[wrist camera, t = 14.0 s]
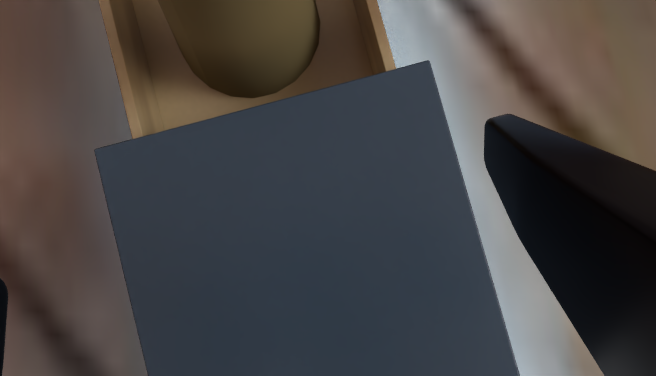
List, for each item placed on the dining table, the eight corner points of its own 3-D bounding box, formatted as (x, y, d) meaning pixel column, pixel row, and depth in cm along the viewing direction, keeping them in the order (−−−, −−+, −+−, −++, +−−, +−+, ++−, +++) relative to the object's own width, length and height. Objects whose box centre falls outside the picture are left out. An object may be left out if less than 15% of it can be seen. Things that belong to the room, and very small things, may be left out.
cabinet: (150, 166, 23) (93, 149, 17) (406, 98, 23) (429, 59, 17) (221, 453, 22) (184, 530, 17) (486, 381, 22) (537, 434, 17)
